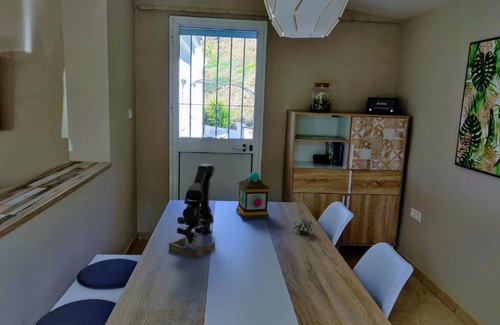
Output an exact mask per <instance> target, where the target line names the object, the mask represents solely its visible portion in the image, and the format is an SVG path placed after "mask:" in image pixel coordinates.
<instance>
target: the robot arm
mask: <svg viewBox="0 0 500 325" xmlns="http://www.w3.org/2000/svg"><path fill="white" fill-rule="evenodd" d="M215 169H216V167H215V166H214V165H213V164H211V163H201V164H198V166H197V172H196V176H195V177H194V181H193V183H192V184H191V185H190V186H189V187H188V190H186V192H185V197H184V201H183V202H184V203H183V204H184V205H186V207H185V208H184V209H183V210H182V216H179V217H177V219H176V221H177V224H178V225H179V224H180V225H181V226H179V227H177V228H176V233H177V234H179V235H181V236H184V237H185V236H187V239H188V242H189V244H191V243H192V240H193V236H194V232H192V231H195V232H198V233H201V234H202V236H203V235H204V236H207V235H208V234H211V233H213V230H211V224H214V216H213V213H212V209H211V206H210V192H211V191H210V187H211V180H212V178H213V176H214V174H215V171H216V170H215Z"/></svg>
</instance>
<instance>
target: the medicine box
mask: <svg viewBox="0 0 500 325" xmlns="http://www.w3.org/2000/svg"><path fill="white" fill-rule="evenodd" d="M192 232H194V236H193V240H192V243H191V244H189V242H188V239H187V236H185V235H184V237H185V244H184V248H187V249H190V250H193V251H196V250H198V249H200V248H202V247H203V246H202V245H203V234H201V233H198V232H195V230H192Z"/></svg>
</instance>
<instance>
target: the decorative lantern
mask: <svg viewBox="0 0 500 325" xmlns="http://www.w3.org/2000/svg"><path fill="white" fill-rule="evenodd" d="M237 184H238V187H239V190H238V192H239V193H238V197H237V198H238V199H237V200H238V205H237V206H236V209H235V210H236V213H237V212H238V213H239V214H240V215H241V216H242V220H243V221H245V220H246V218H247V217H264V216H265V219H266V220H268V219H269V217H270V216H269V211H268V202H269V200H268V199H269V198H268V197H269V192H270V190H271V188H270V187H269V186H268V185H267V184H266V183H264V182H263V181H262V180H261V179H260V175H259V173H258V172H256V171H253V172H251V173H250V174H249V175H248V177H247V178H246V179H244V180H241V181H239V182H237Z"/></svg>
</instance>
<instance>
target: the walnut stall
mask: <svg viewBox="0 0 500 325" xmlns="http://www.w3.org/2000/svg"><path fill="white" fill-rule="evenodd" d="M183 245H184V246H183ZM215 249H216V242H214V241H213V242H210V243H208V244H207V245H205V246H202V248H200V249H198V250H196V251H193V250H190V249H187V248H185V236H183V237H180V238H178V239H175V240H173V241H171V242H169V244H168V250H169V251H171V252H174V253H176V254H179V255H182V256H184V257H187V258H190V259H193V260H197V259H199V258H201V257H202V256H203V255H206V254H208V253H210V252H211V251H215Z"/></svg>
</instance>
